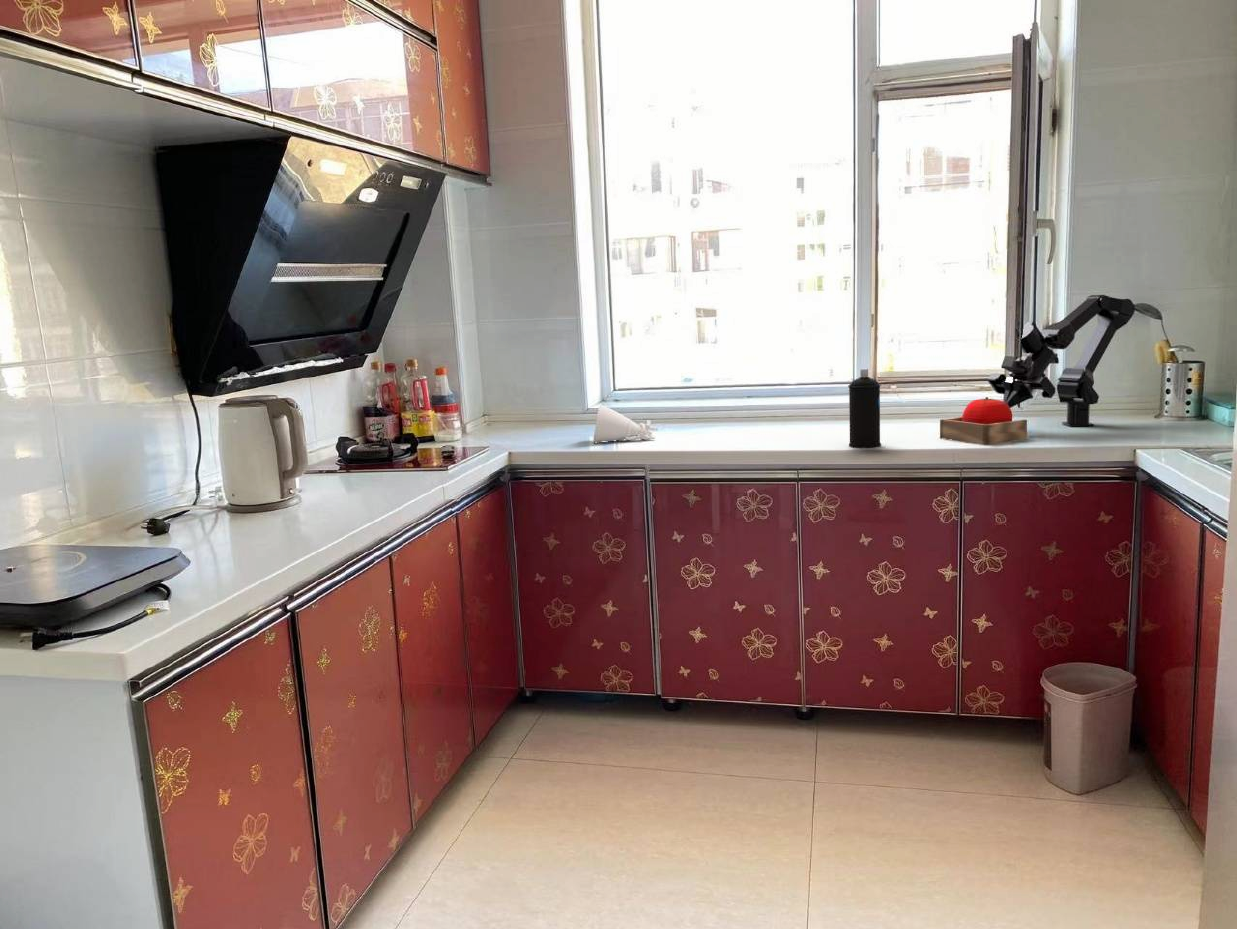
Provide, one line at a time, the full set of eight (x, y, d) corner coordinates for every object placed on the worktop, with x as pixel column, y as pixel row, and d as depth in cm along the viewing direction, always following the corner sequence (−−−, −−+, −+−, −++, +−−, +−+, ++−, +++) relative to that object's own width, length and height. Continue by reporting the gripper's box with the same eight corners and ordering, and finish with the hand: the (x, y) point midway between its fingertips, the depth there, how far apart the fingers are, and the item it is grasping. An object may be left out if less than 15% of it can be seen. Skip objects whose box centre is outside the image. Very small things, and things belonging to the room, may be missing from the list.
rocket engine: (661, 406, 281) (600, 396, 281) (657, 436, 274) (595, 425, 274) (655, 432, 290) (596, 422, 290) (651, 461, 283) (591, 451, 283)
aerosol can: (861, 448, 247) (860, 371, 244) (842, 445, 255) (841, 369, 251) (887, 445, 250) (887, 368, 247) (868, 442, 258) (867, 367, 254)
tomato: (953, 436, 258) (954, 397, 256) (990, 432, 262) (991, 393, 260) (983, 441, 247) (983, 400, 245) (1021, 437, 251) (1021, 396, 250)
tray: (979, 432, 264) (979, 414, 263) (1026, 438, 250) (1026, 419, 249) (939, 438, 258) (940, 419, 257) (985, 444, 244) (986, 425, 243)
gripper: (993, 344, 264) (961, 386, 261) (1049, 345, 247) (1016, 391, 244) (1013, 371, 268) (982, 413, 265) (1069, 374, 251) (1037, 419, 249)
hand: (1003, 409), depth 256 cm, fingers closed, pressing on tomato
